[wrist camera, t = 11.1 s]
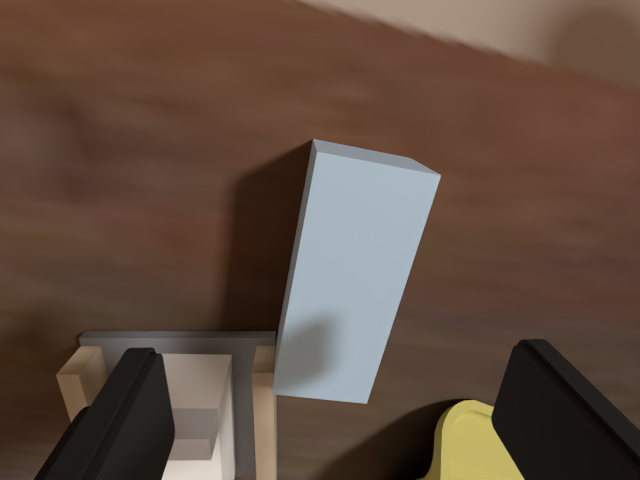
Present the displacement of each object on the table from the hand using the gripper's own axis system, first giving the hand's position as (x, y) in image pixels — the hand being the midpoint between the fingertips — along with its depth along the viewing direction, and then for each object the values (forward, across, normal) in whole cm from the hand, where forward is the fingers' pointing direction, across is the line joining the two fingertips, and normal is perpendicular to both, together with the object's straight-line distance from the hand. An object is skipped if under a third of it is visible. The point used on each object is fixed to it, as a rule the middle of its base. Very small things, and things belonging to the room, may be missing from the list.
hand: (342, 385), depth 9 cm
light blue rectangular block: (+9, -1, 0) cm, 9 cm away
